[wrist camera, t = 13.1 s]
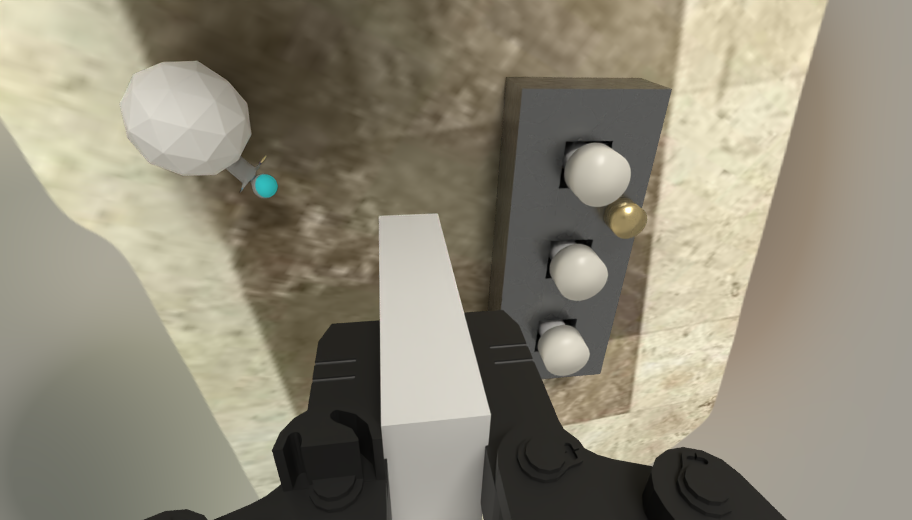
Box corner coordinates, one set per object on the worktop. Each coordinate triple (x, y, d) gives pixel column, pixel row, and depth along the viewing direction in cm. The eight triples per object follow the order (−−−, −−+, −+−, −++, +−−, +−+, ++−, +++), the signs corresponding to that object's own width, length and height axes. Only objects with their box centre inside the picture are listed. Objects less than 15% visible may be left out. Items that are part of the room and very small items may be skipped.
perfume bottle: (193, 14, 30) (327, 145, 37) (148, 63, 36) (274, 171, 43) (113, 88, 26) (281, 220, 33) (76, 131, 32) (228, 238, 39)
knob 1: (525, 294, 50) (548, 342, 43) (564, 292, 50) (593, 339, 44) (520, 326, 52) (542, 377, 45) (558, 324, 53) (585, 373, 46)
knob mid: (534, 218, 45) (562, 258, 39) (577, 216, 46) (612, 256, 39) (529, 257, 47) (555, 302, 41) (570, 255, 48) (602, 299, 41)
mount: (506, 77, 39) (522, 88, 34) (640, 78, 40) (671, 89, 36) (484, 351, 54) (493, 383, 50) (582, 344, 56) (600, 373, 51)
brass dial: (606, 198, 40) (617, 207, 39) (639, 196, 41) (650, 206, 39) (600, 229, 42) (610, 239, 40) (631, 227, 42) (642, 237, 40)
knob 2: (546, 124, 41) (580, 152, 34) (594, 124, 41) (636, 151, 35) (540, 172, 43) (570, 207, 36) (585, 171, 44) (623, 205, 37)
